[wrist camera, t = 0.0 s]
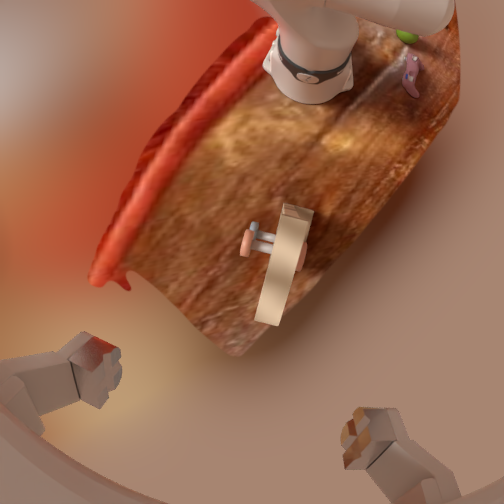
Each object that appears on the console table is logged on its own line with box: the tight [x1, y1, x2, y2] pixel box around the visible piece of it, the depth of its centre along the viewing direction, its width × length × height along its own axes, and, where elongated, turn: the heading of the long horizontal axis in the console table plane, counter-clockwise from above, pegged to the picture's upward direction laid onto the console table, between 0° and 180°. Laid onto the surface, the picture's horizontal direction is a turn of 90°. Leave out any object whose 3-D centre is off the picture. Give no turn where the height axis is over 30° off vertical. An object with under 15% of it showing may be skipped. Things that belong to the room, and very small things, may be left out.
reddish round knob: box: [240, 229, 307, 272], centre depth 40 cm, size 4×9×4 cm, turn 77°
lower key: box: [250, 221, 276, 242], centre depth 48 cm, size 4×9×4 cm, turn 77°
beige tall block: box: [254, 203, 314, 326], centre depth 42 cm, size 13×6×25 cm, turn 167°
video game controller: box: [402, 53, 424, 98], centre depth 40 cm, size 10×5×7 cm, turn 161°
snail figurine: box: [396, 29, 419, 44], centre depth 33 cm, size 5×6×12 cm
